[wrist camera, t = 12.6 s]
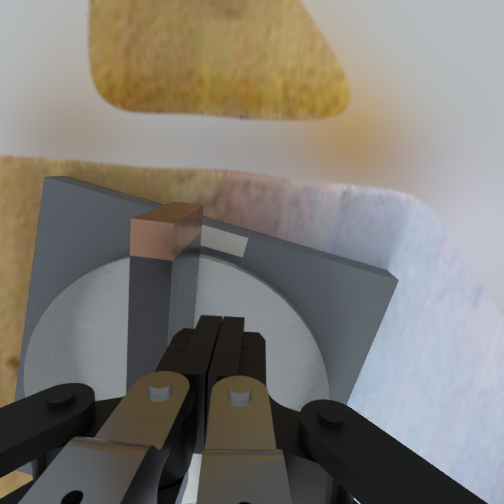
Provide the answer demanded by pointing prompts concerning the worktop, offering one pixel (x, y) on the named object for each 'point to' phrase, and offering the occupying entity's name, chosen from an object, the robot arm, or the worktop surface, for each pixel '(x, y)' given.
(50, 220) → the plinth
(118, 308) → the rotary knob
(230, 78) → the worktop surface
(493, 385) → the worktop surface
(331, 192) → the worktop surface
